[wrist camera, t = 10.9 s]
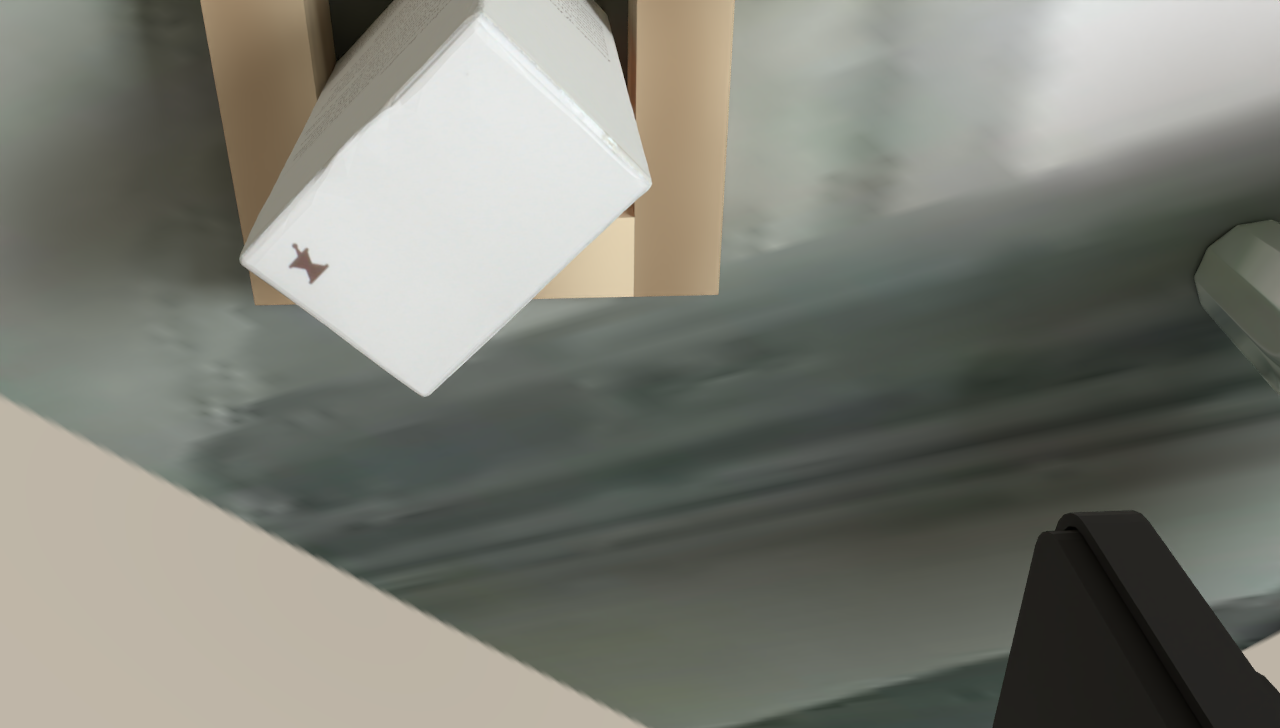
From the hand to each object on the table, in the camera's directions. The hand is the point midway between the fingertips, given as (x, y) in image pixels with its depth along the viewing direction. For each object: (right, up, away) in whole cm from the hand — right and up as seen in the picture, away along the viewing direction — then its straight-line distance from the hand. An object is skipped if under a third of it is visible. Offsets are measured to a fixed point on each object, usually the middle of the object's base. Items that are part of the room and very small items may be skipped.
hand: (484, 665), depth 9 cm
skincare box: (-3, +11, +20) cm, 23 cm away
